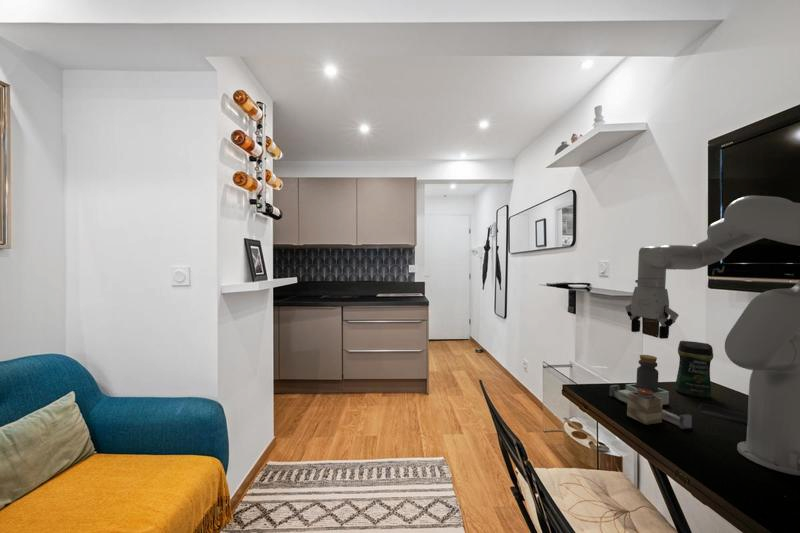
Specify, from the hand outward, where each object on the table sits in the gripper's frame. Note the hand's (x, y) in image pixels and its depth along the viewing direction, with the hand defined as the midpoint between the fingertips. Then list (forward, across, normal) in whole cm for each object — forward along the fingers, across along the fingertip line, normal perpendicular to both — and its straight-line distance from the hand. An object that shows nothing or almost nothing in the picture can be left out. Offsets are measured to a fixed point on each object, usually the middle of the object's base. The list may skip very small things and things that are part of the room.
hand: (649, 334), depth 115 cm
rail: (+22, +6, -7) cm, 24 cm away
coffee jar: (+22, -1, +23) cm, 32 cm away
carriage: (+22, 0, -2) cm, 22 cm away
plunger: (+19, +10, -13) cm, 25 cm away
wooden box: (+22, +10, -14) cm, 28 cm away
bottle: (+22, 0, 0) cm, 22 cm away
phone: (+23, +15, +15) cm, 31 cm away
